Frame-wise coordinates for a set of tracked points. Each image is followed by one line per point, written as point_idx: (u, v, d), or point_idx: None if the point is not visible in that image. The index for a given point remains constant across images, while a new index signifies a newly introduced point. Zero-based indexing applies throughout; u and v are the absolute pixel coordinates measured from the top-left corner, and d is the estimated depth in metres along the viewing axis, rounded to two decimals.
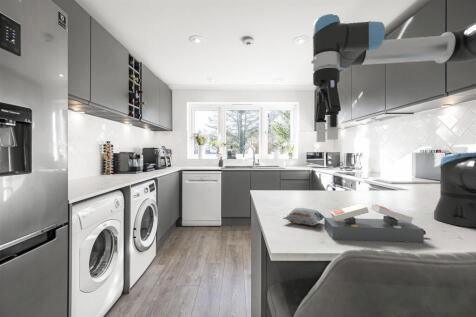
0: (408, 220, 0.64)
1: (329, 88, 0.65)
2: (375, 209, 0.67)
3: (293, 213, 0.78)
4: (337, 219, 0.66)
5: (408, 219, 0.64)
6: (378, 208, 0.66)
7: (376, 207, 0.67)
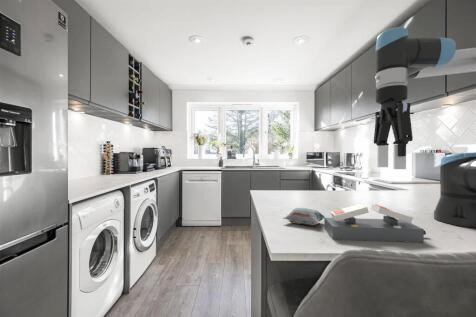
0: (408, 220, 0.64)
1: (401, 113, 0.60)
2: (375, 209, 0.67)
3: (293, 213, 0.78)
4: (337, 219, 0.66)
5: (408, 219, 0.64)
6: (378, 208, 0.66)
7: (376, 207, 0.67)
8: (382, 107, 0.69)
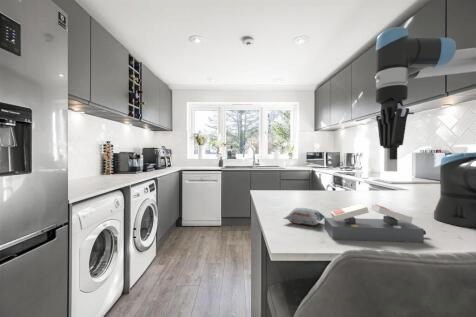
0: (408, 220, 0.64)
1: (398, 118, 0.61)
2: (375, 209, 0.67)
3: (293, 213, 0.78)
4: (337, 219, 0.66)
5: (408, 219, 0.64)
6: (378, 208, 0.66)
7: (376, 207, 0.67)
8: (382, 107, 0.69)
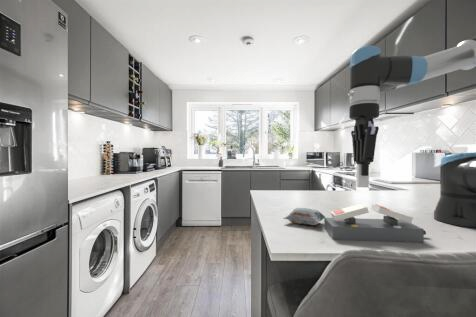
0: (408, 220, 0.64)
1: (368, 136, 0.62)
2: (375, 209, 0.67)
3: (294, 213, 0.78)
4: (337, 219, 0.66)
5: (408, 219, 0.64)
6: (378, 208, 0.66)
7: (376, 207, 0.67)
8: (355, 123, 0.70)
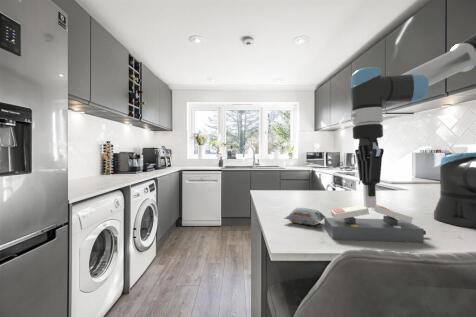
0: (408, 220, 0.64)
1: (373, 158, 0.62)
2: (375, 209, 0.67)
3: (294, 213, 0.78)
4: (337, 218, 0.66)
5: (408, 219, 0.64)
6: (378, 208, 0.66)
7: (376, 207, 0.67)
8: (359, 142, 0.70)
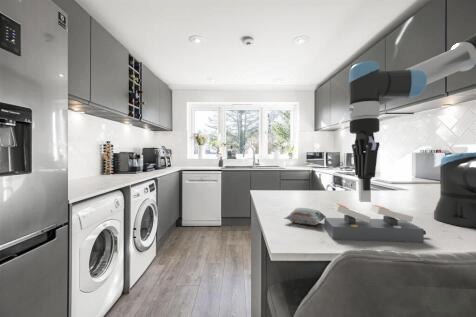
0: (408, 219, 0.64)
1: (369, 152, 0.62)
2: (375, 210, 0.67)
3: (294, 213, 0.78)
4: (338, 210, 0.66)
5: (408, 218, 0.64)
6: (378, 209, 0.66)
7: (376, 208, 0.67)
8: (356, 137, 0.70)
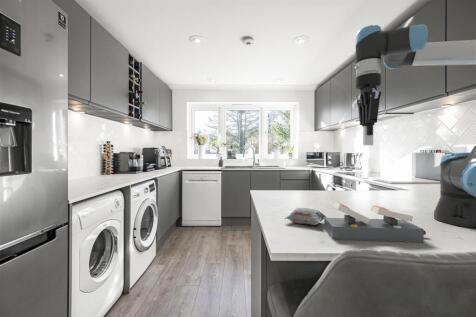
0: (408, 219, 0.64)
1: (372, 100, 0.75)
2: (374, 210, 0.67)
3: (295, 213, 0.78)
4: (339, 208, 0.66)
5: (408, 218, 0.64)
6: (377, 209, 0.66)
7: (375, 208, 0.67)
8: (361, 92, 0.83)
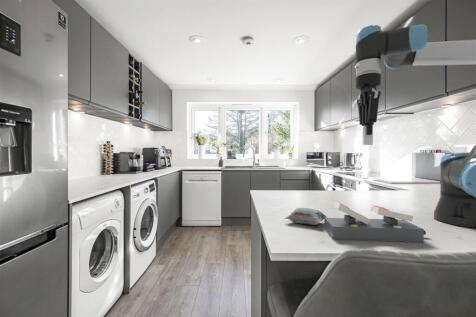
0: (408, 219, 0.64)
1: (372, 100, 0.75)
2: (374, 210, 0.67)
3: (295, 213, 0.79)
4: (339, 208, 0.66)
5: (408, 218, 0.64)
6: (377, 209, 0.66)
7: (375, 208, 0.67)
8: (361, 92, 0.83)
